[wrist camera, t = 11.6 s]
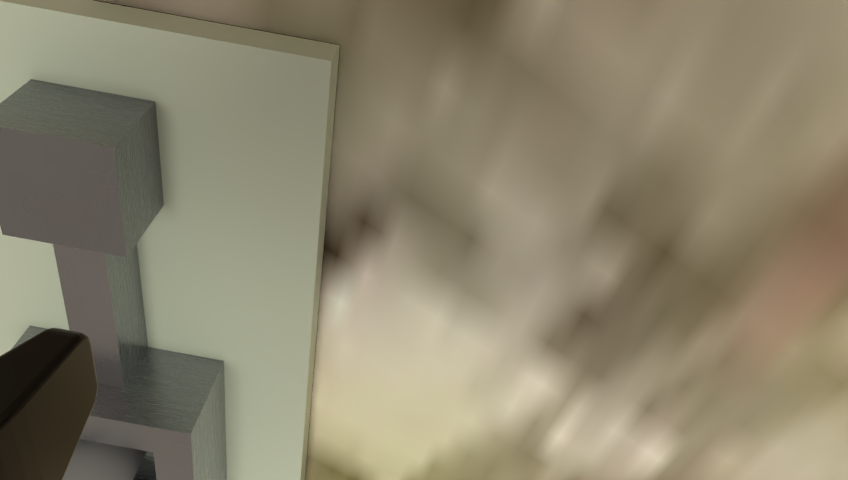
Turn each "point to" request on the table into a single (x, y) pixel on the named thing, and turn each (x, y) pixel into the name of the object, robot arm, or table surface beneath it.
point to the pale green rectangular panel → (200, 208)
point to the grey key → (109, 268)
